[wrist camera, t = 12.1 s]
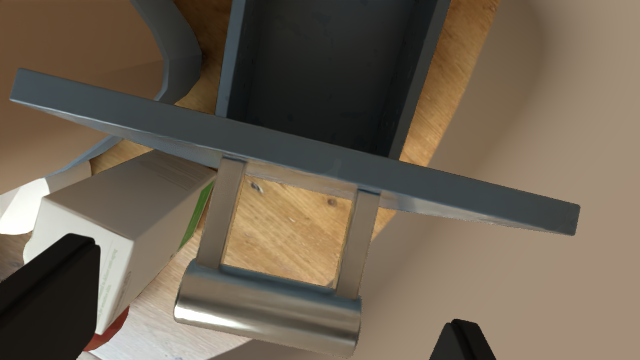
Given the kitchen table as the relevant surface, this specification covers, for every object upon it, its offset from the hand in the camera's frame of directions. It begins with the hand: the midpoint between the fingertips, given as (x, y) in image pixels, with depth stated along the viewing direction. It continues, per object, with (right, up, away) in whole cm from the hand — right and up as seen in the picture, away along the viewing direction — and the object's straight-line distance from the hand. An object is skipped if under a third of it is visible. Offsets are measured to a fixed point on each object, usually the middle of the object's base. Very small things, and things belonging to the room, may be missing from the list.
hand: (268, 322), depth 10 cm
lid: (0, +4, +9) cm, 10 cm away
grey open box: (+2, +15, +24) cm, 29 cm away
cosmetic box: (-13, +3, +29) cm, 32 cm away
